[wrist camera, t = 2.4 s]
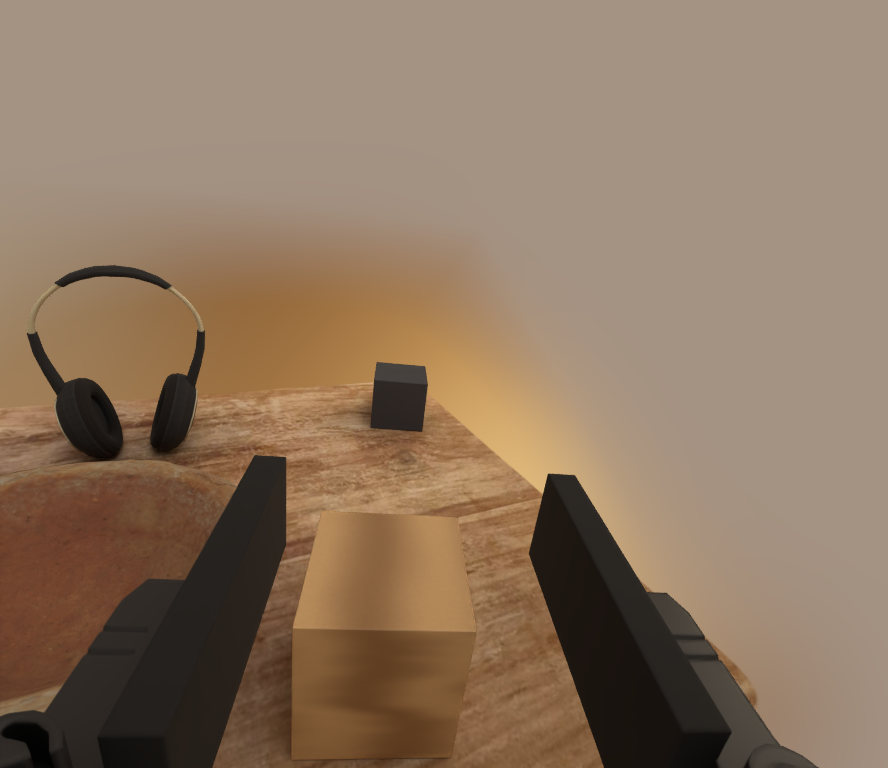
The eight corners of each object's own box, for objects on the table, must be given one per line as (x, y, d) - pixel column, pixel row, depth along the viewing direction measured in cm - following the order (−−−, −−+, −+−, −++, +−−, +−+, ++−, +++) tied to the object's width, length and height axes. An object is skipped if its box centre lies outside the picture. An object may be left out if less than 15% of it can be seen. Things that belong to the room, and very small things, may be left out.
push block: (439, 625, 35) (457, 517, 32) (451, 758, 27) (476, 631, 23) (317, 623, 34) (321, 510, 31) (291, 760, 26) (291, 628, 22)
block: (420, 409, 71) (425, 366, 68) (422, 431, 64) (427, 384, 62) (373, 406, 70) (376, 361, 67) (370, 427, 63) (374, 379, 61)
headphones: (214, 459, 52) (202, 277, 45) (43, 480, 45) (-4, 270, 38) (210, 424, 59) (199, 262, 52) (61, 438, 52) (25, 253, 45)
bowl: (325, 675, 31) (329, 581, 28) (-335, 1075, 15) (-478, 959, 13) (211, 492, 47) (206, 420, 44) (-169, 599, 31) (-215, 500, 28)
